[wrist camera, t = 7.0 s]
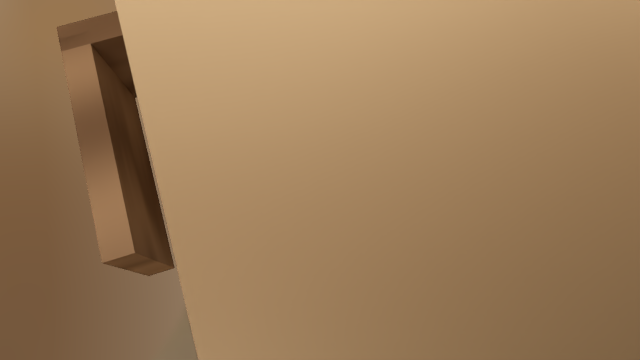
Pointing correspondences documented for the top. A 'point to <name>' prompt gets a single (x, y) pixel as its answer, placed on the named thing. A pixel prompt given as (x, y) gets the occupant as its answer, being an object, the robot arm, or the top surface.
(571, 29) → the ash block
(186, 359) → the top surface
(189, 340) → the top surface
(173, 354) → the top surface
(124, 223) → the walnut crate
